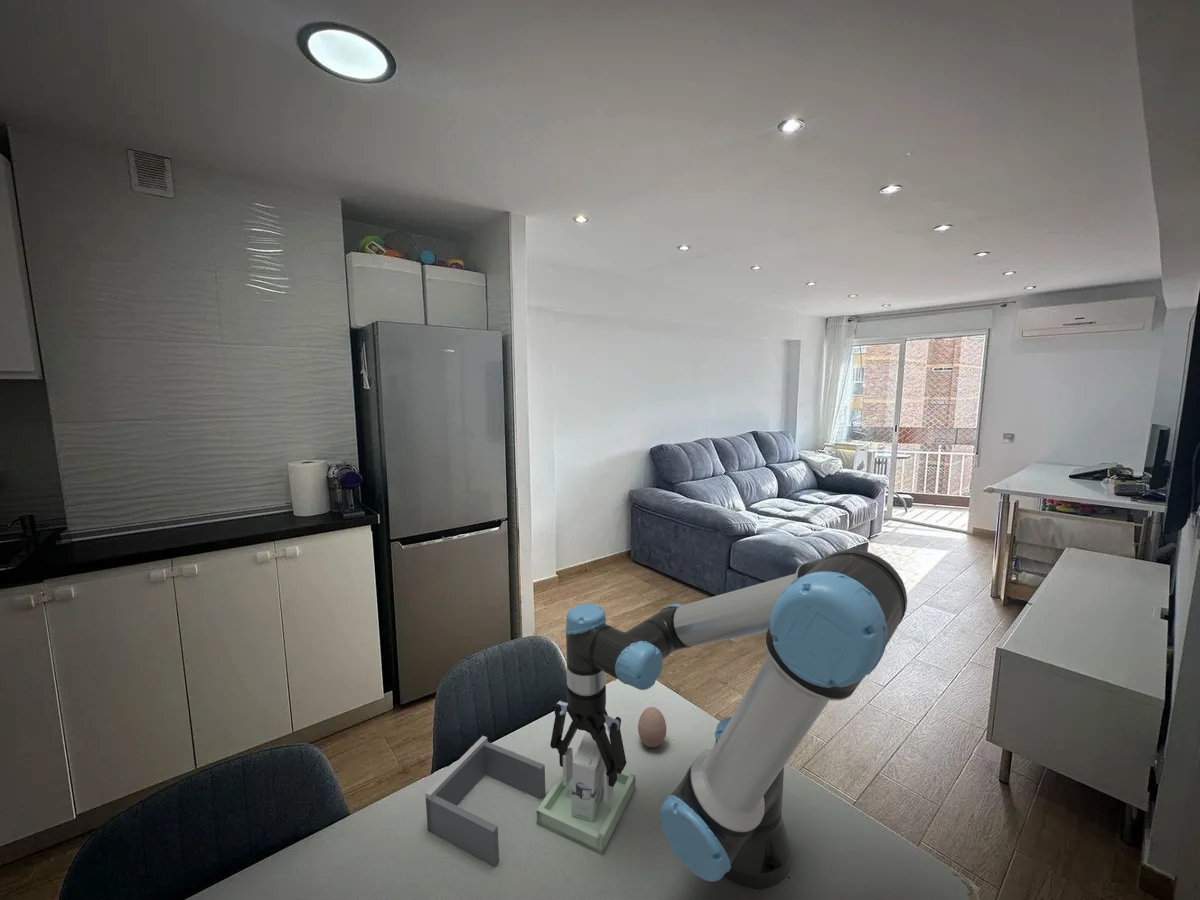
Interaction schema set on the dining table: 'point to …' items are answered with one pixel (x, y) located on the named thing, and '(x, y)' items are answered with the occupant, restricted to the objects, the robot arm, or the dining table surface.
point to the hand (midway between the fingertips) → (587, 788)
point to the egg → (652, 727)
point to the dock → (459, 782)
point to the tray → (586, 833)
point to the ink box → (587, 780)
